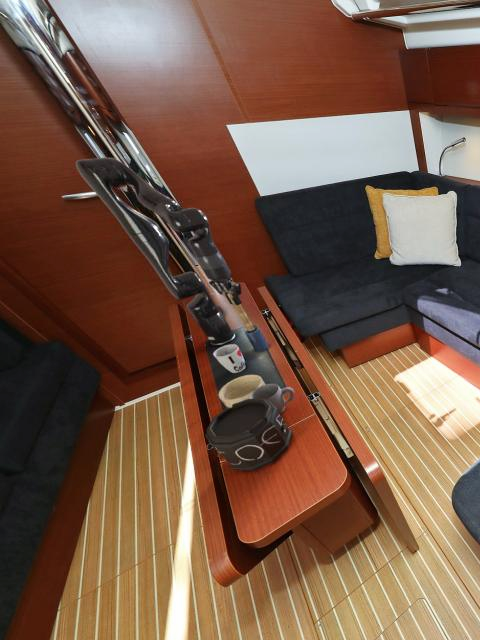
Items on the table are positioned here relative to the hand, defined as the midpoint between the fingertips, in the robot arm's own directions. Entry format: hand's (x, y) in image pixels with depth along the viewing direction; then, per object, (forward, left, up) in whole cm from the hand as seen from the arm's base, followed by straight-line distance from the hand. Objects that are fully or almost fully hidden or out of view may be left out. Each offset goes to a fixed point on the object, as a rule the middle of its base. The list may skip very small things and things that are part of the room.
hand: (236, 303), depth 134 cm
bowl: (+33, -12, -23) cm, 42 cm away
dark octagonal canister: (+61, -14, -24) cm, 67 cm away
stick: (0, 0, -13) cm, 13 cm away
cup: (+9, -11, -24) cm, 28 cm away
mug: (+46, -5, -24) cm, 52 cm away
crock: (0, 0, -23) cm, 23 cm away
